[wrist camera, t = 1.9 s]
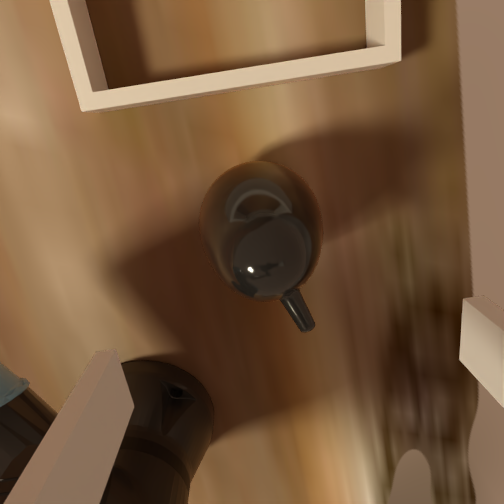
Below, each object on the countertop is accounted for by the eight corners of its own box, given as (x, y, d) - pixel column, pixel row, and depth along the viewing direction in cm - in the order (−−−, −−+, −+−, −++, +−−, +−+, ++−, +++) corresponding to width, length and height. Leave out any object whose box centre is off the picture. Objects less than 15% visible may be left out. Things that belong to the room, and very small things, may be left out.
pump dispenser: (240, 279, 37) (242, 378, 23) (182, 193, 34) (143, 246, 20) (329, 229, 36) (389, 302, 22) (277, 134, 33) (307, 146, 18)
